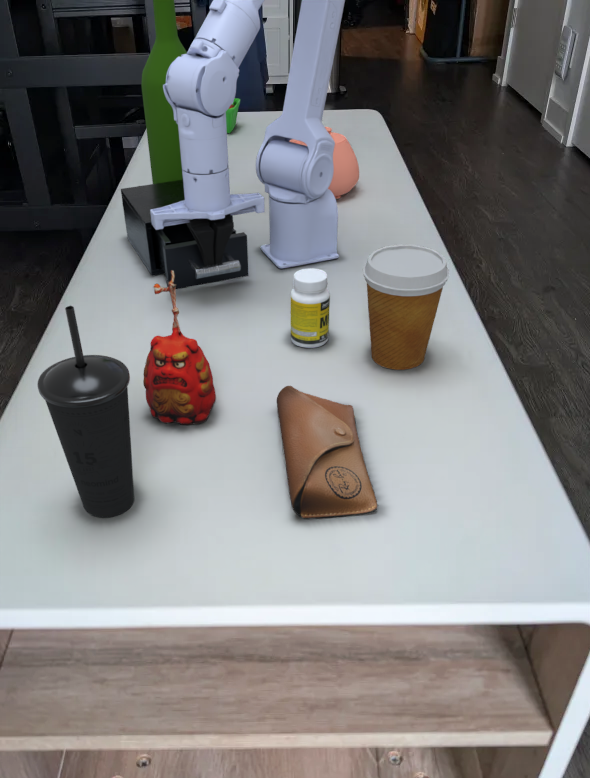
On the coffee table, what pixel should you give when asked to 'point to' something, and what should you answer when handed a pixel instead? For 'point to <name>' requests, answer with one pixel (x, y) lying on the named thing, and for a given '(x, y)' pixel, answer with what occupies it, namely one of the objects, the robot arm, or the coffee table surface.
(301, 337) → the supplement bottle
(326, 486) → the sunglasses case
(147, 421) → the coffee table surface
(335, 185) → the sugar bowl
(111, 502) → the drinking cup
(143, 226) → the black drawer box
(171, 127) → the wine bottle
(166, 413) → the red clay folk toy
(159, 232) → the drawer
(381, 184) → the coffee table surface
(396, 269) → the disposable coffee cup
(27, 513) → the coffee table surface
